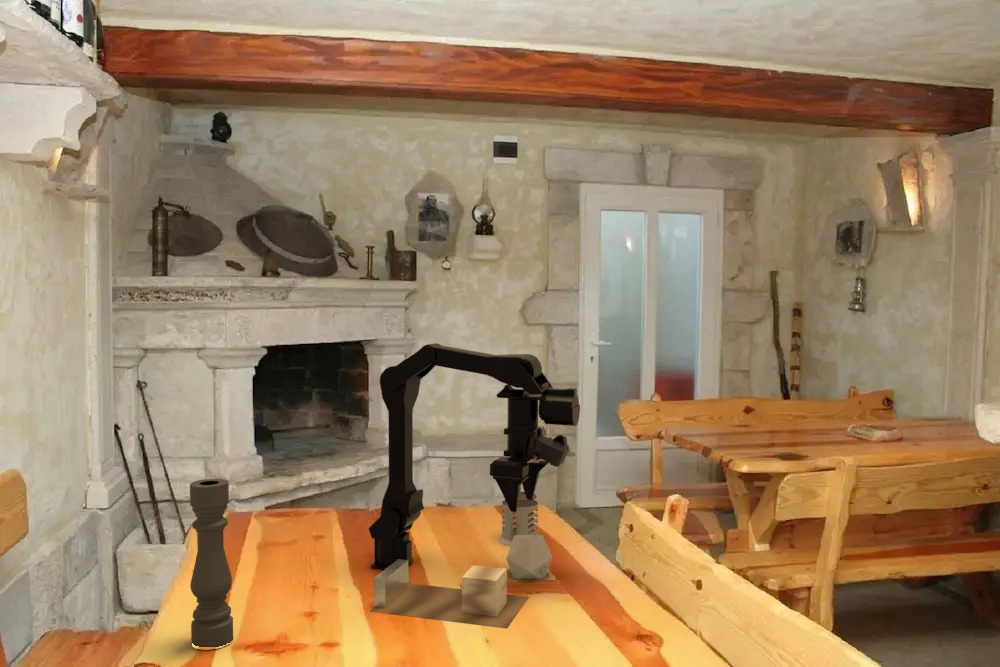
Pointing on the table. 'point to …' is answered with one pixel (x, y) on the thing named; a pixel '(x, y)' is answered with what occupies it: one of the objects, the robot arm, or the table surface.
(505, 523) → the french press
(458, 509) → the table surface
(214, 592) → the candle holder
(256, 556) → the table surface
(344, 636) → the table surface
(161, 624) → the table surface
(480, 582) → the cube
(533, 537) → the die
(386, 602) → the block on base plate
